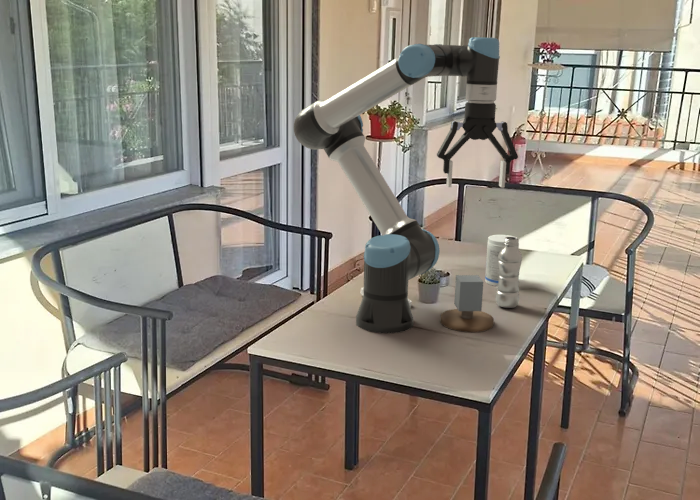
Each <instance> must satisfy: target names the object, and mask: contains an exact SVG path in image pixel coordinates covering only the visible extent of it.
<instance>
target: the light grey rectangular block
mask: <svg viewBox="0 0 700 500" xmlns="http://www.w3.org/2000/svg"><path fill="white" fill-rule="evenodd" d="M483 292H484V281H483V279H482V278H481V277H480V276H479V275H478V274H476V275H475V274H474V275H473V274H471V275H470V274H469V275H468V274H466V275H465V274H462V275H461V274H460V275H459V274H456V275H455V287H454V306H455V307H456V309H458V311H482V307H483V295H484V294H483Z"/></svg>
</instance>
